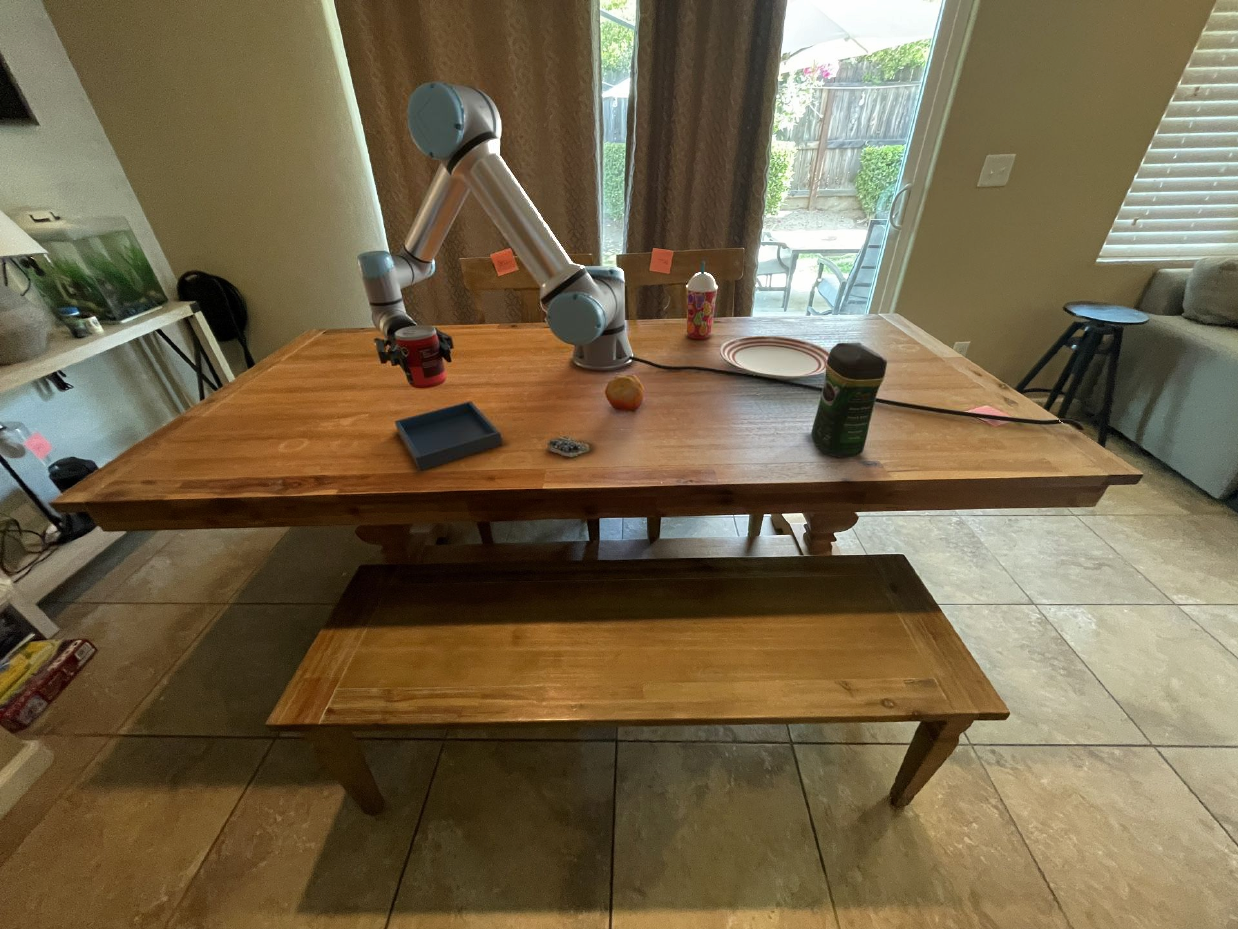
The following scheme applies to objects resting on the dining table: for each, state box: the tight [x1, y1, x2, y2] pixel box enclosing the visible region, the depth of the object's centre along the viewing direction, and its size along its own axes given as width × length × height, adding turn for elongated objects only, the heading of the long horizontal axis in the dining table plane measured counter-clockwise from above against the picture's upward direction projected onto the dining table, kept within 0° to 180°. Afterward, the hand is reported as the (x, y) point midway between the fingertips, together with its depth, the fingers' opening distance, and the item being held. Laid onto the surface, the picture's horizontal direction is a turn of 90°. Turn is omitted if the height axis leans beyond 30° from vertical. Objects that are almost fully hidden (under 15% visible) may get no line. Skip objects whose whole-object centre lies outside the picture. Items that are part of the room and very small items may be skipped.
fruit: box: [604, 373, 645, 412], centre depth 105 cm, size 8×8×8 cm
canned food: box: [395, 324, 447, 389], centre depth 104 cm, size 8×8×11 cm
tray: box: [394, 400, 503, 472], centre depth 96 cm, size 16×15×3 cm
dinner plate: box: [719, 335, 830, 380], centre depth 123 cm, size 27×27×3 cm
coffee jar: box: [810, 341, 888, 458], centre depth 87 cm, size 10×8×19 cm
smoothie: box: [685, 261, 718, 340], centre depth 138 cm, size 8×8×20 cm
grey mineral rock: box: [545, 435, 591, 458], centre depth 93 cm, size 7×8×2 cm
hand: (427, 360), depth 100 cm, fingers closed on canned food, 8 cm apart
